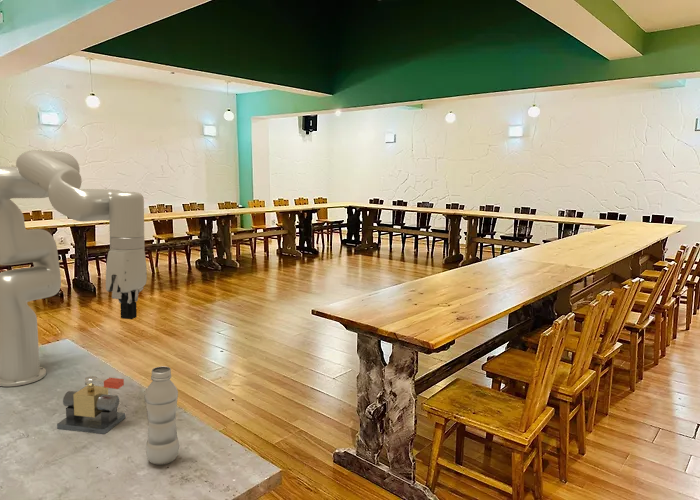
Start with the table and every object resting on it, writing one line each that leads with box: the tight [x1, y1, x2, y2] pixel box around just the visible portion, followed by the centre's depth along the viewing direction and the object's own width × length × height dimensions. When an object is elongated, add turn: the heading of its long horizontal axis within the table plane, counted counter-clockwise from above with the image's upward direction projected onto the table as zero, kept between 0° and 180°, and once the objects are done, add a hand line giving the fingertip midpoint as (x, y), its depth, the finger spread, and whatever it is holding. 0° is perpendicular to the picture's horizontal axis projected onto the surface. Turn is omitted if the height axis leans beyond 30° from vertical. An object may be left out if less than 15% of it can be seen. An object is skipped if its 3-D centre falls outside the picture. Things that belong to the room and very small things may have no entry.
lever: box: [84, 375, 125, 390], centre depth 114 cm, size 9×2×2 cm, turn 81°
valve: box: [56, 384, 126, 435], centre depth 115 cm, size 12×8×10 cm, turn 82°
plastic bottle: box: [143, 366, 180, 466], centre depth 101 cm, size 6×7×20 cm
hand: (128, 317), depth 118 cm, fingers closed
